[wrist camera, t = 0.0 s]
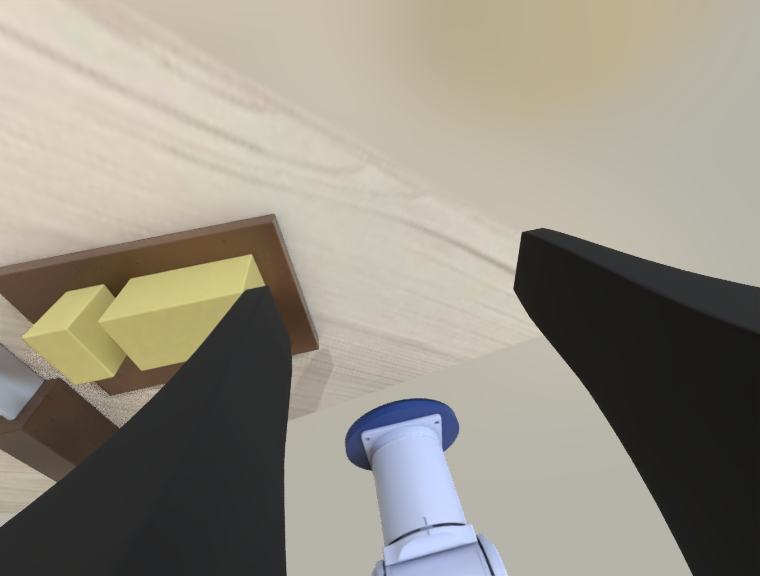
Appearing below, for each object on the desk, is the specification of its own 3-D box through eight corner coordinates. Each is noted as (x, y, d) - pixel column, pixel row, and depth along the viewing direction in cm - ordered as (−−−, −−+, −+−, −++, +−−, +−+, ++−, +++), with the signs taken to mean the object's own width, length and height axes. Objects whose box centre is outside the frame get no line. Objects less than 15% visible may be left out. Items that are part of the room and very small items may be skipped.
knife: (128, 436, 24) (106, 485, 21) (100, 442, 24) (74, 492, 21) (-67, 269, 15) (-149, 318, 12) (-114, 278, 15) (-207, 329, 12)
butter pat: (142, 330, 18) (114, 377, 15) (108, 337, 18) (74, 386, 15) (104, 283, 16) (65, 328, 13) (65, 290, 16) (18, 338, 13)
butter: (273, 302, 18) (267, 344, 16) (164, 325, 18) (141, 371, 15) (252, 253, 16) (241, 291, 14) (130, 278, 16) (96, 322, 13)
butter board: (318, 338, 22) (319, 349, 21) (117, 383, 21) (109, 396, 20) (274, 213, 16) (273, 221, 15) (-1, 266, 15) (-17, 278, 15)
